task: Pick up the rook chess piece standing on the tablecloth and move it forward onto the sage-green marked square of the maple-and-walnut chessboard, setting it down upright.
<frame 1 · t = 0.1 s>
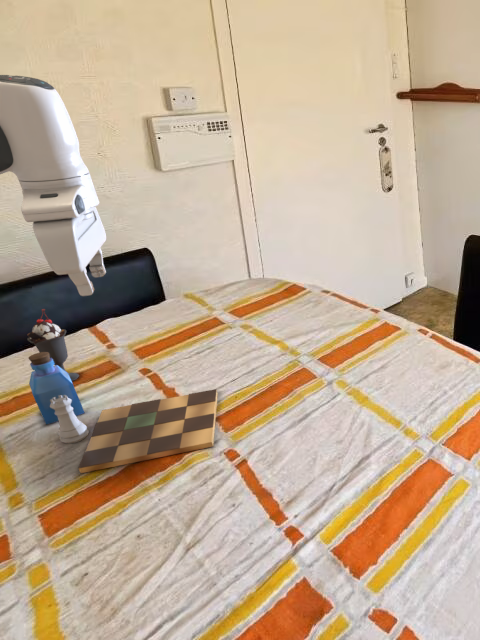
hand: (94, 284, 99), 27 cm above the table, tool pointing down, fingers open, 8 cm apart
sundae: (65, 379, 131), on the table
chessboard: (156, 429, 112), on the table
rook chess piece: (75, 438, 111), on the table
perfume bottle: (63, 413, 119), on the table
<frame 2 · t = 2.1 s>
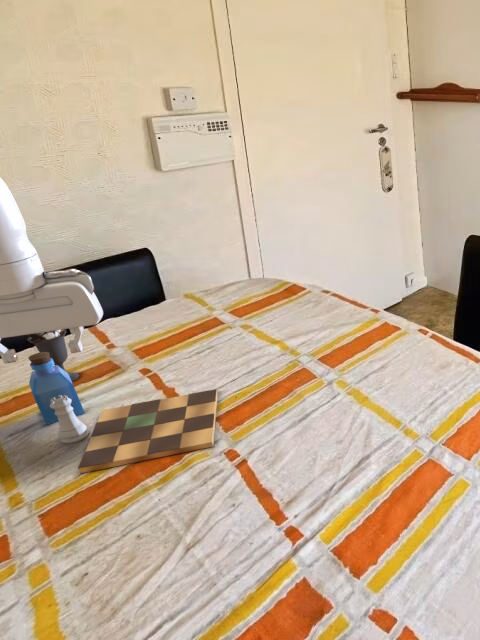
hand: (45, 356, 103), 16 cm above the table, tool pointing down, fingers open, 8 cm apart
nothing on the table moved.
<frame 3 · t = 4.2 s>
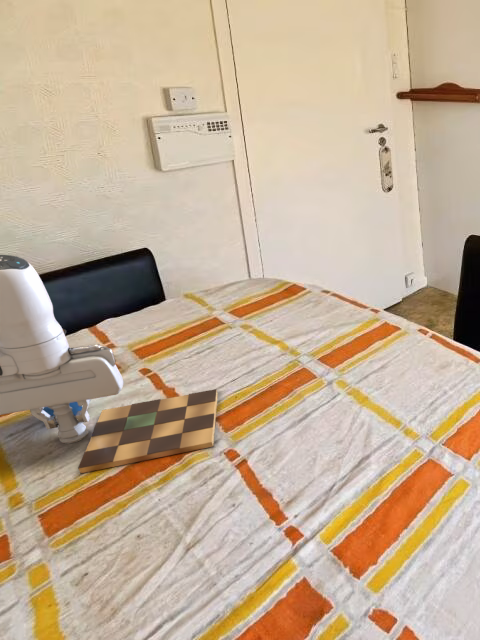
hand: (69, 424, 109), 3 cm above the table, tool pointing down, fingers closed on rook chess piece, 3 cm apart
rook chess piece: (75, 438, 111), on the table, touching gripper
everything else where it was.
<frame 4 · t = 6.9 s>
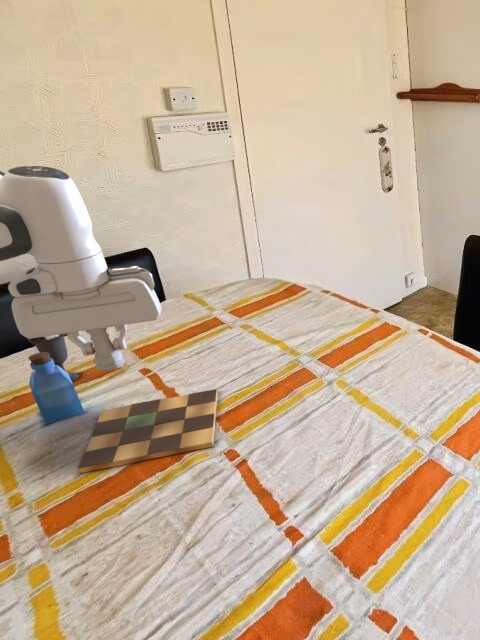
hand: (105, 351, 106), 15 cm above the table, tool pointing down, fingers closed on rook chess piece, 3 cm apart
rook chess piece: (111, 367, 107), point 12 cm above the table, touching gripper
everything else where it was.
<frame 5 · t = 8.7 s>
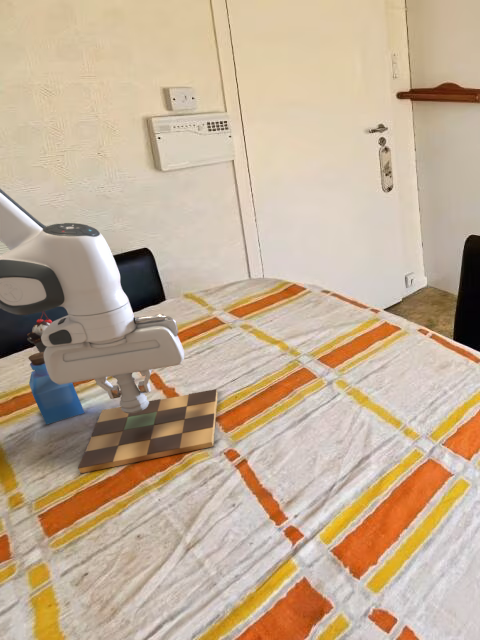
hand: (131, 394, 110), 7 cm above the table, tool pointing down, fingers closed on rook chess piece, 3 cm apart
rook chess piece: (136, 408, 112), point 4 cm above the table, touching gripper
everything else where it was.
when the fingers open (4 cm above the table, at t = 9.8 s): rook chess piece stays where it is, resting on chessboard.
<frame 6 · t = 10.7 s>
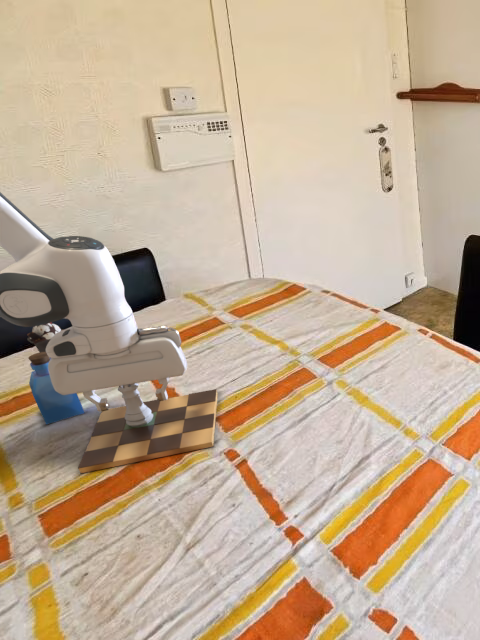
hand: (134, 404, 111), 5 cm above the table, tool pointing down, fingers open, 8 cm apart
rook chess piece: (140, 422, 113), point 1 cm above the table, touching chessboard
everything else where it was.
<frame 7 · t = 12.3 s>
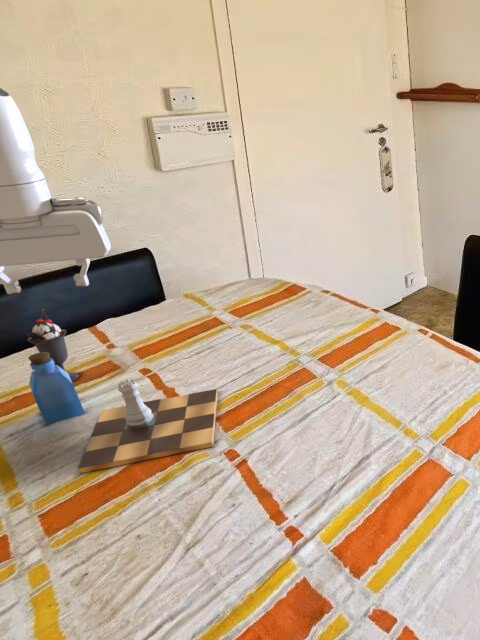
hand: (49, 289, 100), 27 cm above the table, tool pointing down, fingers open, 8 cm apart
nothing on the table moved.
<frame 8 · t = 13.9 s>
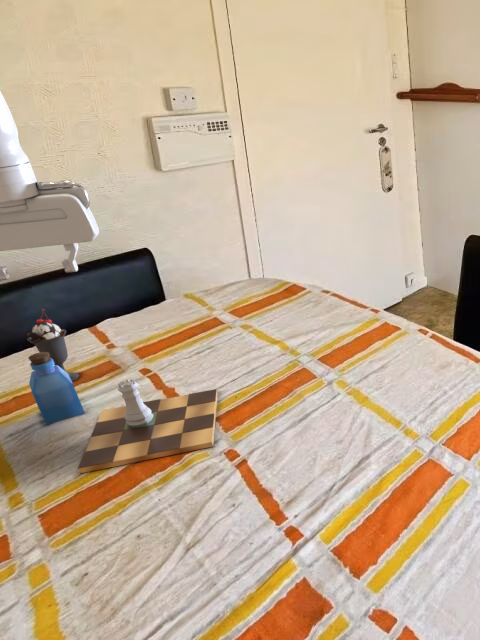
hand: (38, 275, 99), 29 cm above the table, tool pointing down, fingers open, 8 cm apart
nothing on the table moved.
at the end: rook chess piece 0.2 cm from the target spot, point 0.9 cm above the table; rook chess piece tilted 0°; the gripper is holding nothing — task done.
